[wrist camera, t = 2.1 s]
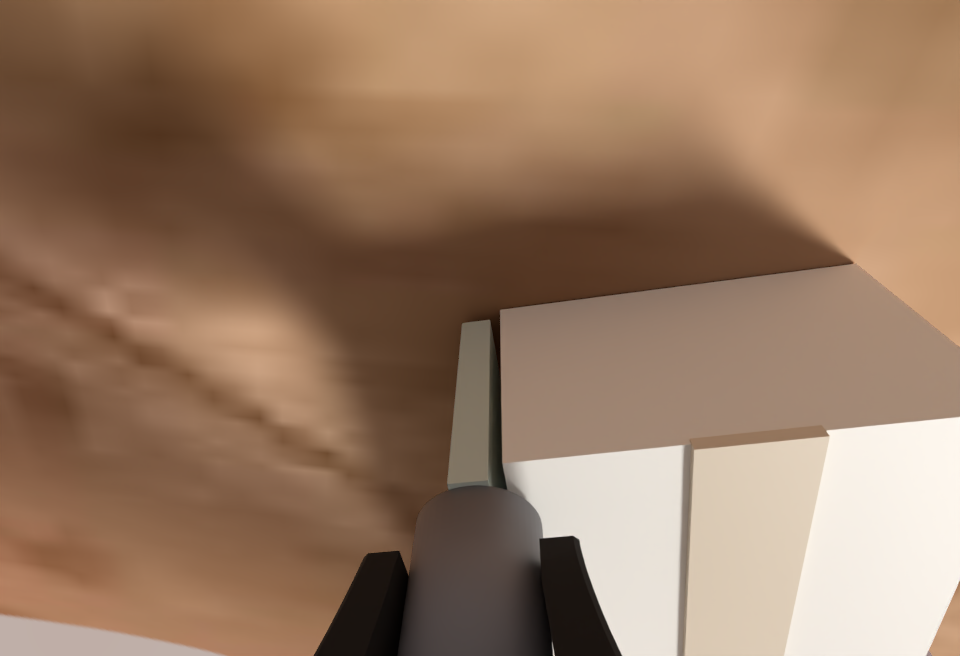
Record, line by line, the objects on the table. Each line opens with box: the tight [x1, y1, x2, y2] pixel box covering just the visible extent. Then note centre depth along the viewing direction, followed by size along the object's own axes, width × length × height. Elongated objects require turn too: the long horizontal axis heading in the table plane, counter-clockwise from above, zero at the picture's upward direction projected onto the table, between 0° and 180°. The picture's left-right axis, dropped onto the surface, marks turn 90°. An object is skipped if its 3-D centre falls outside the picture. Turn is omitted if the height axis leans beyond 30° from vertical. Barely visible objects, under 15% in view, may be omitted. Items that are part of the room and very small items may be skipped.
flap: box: [397, 320, 553, 656], centre depth 16 cm, size 14×3×10 cm, turn 9°
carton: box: [500, 264, 960, 656], centre depth 17 cm, size 14×10×6 cm
